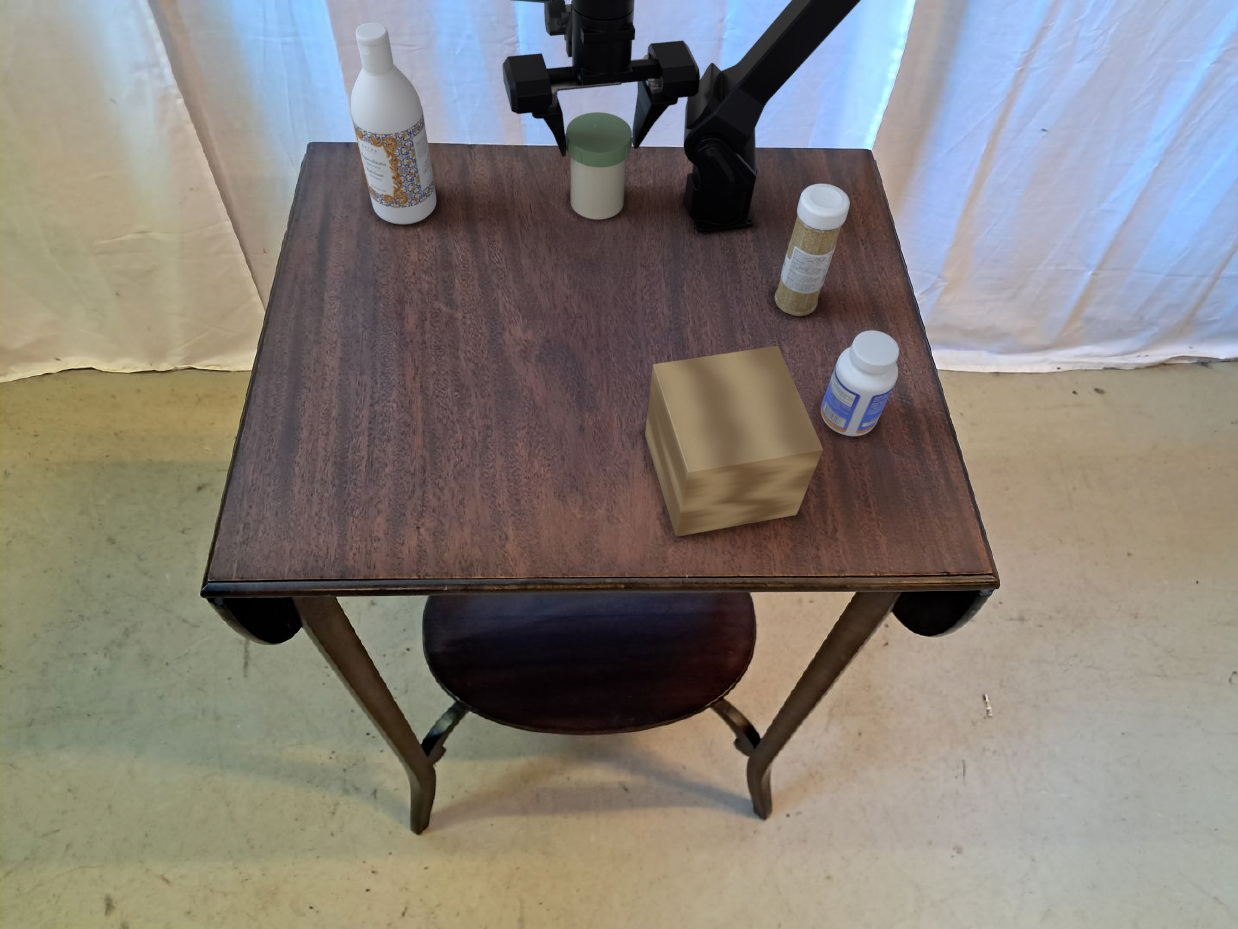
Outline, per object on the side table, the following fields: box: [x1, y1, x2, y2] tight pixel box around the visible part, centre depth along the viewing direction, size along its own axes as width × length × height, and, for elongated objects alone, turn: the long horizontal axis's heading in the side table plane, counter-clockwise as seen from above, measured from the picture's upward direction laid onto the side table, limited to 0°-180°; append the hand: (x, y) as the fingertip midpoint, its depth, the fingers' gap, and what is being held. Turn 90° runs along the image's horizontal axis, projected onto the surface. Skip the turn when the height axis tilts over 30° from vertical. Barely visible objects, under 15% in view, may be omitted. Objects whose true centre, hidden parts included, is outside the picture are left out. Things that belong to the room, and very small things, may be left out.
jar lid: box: [565, 111, 633, 167], centre depth 92 cm, size 7×7×2 cm
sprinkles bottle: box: [774, 183, 851, 317], centre depth 86 cm, size 5×5×13 cm
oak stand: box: [644, 345, 824, 537], centre depth 75 cm, size 11×11×10 cm
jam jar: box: [569, 155, 627, 220], centre depth 95 cm, size 6×6×9 cm
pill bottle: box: [820, 329, 900, 437], centre depth 79 cm, size 5×5×10 cm
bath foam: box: [350, 22, 437, 225], centre depth 89 cm, size 7×7×20 cm
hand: (599, 149), depth 93 cm, fingers open, 7 cm apart
